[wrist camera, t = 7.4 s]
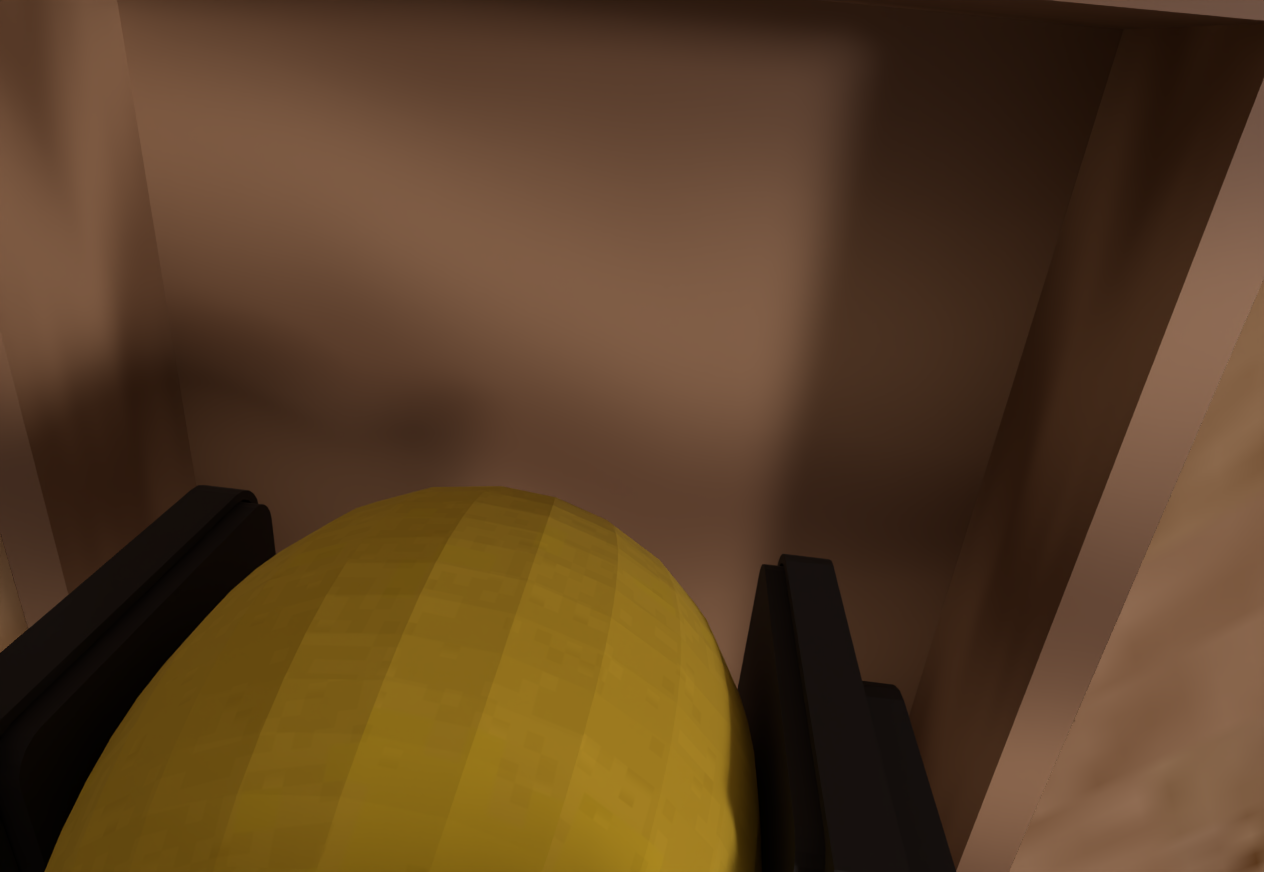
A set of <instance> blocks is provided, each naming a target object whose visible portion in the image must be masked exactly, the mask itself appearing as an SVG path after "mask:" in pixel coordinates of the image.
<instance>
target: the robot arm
mask: <svg viewBox="0 0 1264 872" xmlns="http://www.w3.org/2000/svg"><path fill="white" fill-rule="evenodd" d="M275 555H276V551H275V542H274V534H273V525H272V517H271V513H270V510H269V508H268V507H267V506H266V505H264V504H258V500H257V498H256V496H255V495H254V493H252V492H251V491H249V490H243V489H234V488H226V487H217V486H209V485H198V486H196V487H195V488H193V489H191V490H190V491H189V492H188V493H187V494H185V495H184V496H183V497H182V498H181V499H180V500H178V501H177V502H176V503H175V504H174V505H173V506H171V507H170V508H169V509H168V510H167V511H166V512H164V513H163V514H162V515H161V516H160V517H159V518H157V519H156V520H155V521H154V522H153V523H152V524H150V525H149V526H148V527H147V528H146V529H145V530H143V531H142V532H141V533H140V534H139V535H138V536H136V537H135V538H134V539H133V540H132V541H131V542H129V543H128V544H127V545H126V546H125V547H123V548H122V549H121V550H120V551H119V552H118V553H116V554H115V555H114V556H113V557H112V558H111V559H109V560H108V561H107V562H106V563H105V564H104V565H102V566H101V567H100V568H99V569H98V570H97V571H95V572H94V573H93V574H92V575H91V576H90V577H88V578H87V579H86V580H85V581H84V582H83V583H81V584H80V585H79V586H78V587H77V588H76V589H74V590H73V591H72V592H71V593H70V594H69V595H67V596H66V597H65V598H64V599H63V600H62V601H60V602H59V603H58V604H57V605H56V606H55V607H53V608H52V609H51V610H50V611H49V612H48V613H46V614H45V615H44V616H43V617H42V618H41V619H39V620H38V621H37V622H36V623H35V624H34V625H32V626H31V627H30V628H29V629H28V630H27V631H25V632H24V633H23V634H22V635H21V636H20V637H18V638H17V639H16V640H15V641H14V642H13V643H11V644H10V645H9V646H8V647H7V648H5V649H4V650H3V651H2V652H1V653H0V872H45V869H46V867H47V865H48V862H49V860H50V857H51V855H52V853H53V850H54V848H55V845H56V843H57V841H58V838H59V836H60V833H61V831H62V829H63V827H64V825H65V823H66V821H67V819H68V817H69V815H70V813H71V811H72V809H73V807H74V805H75V803H76V801H77V799H78V797H79V795H80V793H81V791H82V789H83V787H84V785H85V783H86V781H87V779H88V777H89V775H90V774H91V772H92V770H93V768H94V767H95V765H96V763H97V761H98V760H99V758H100V756H101V754H102V753H103V751H104V749H105V747H106V746H107V744H108V742H109V740H110V739H111V737H112V735H113V734H114V732H115V731H116V729H117V728H118V726H119V725H120V723H121V722H122V720H123V719H124V717H125V716H126V714H127V713H128V711H129V710H130V708H131V707H132V705H133V704H134V702H135V701H136V699H137V698H138V697H139V695H140V694H141V693H142V691H143V690H144V689H145V688H146V686H147V685H148V684H149V683H150V681H151V680H152V679H153V677H154V676H155V675H156V674H157V672H158V671H159V670H160V669H161V667H162V666H163V665H164V664H165V662H166V661H167V660H168V659H169V658H170V657H171V656H172V655H173V654H174V652H175V651H176V650H177V649H178V648H179V647H180V646H181V645H182V644H183V642H184V641H185V640H186V639H187V638H188V637H189V636H190V635H191V633H192V632H193V631H194V630H195V629H196V628H197V627H198V626H199V625H200V623H201V622H202V621H203V620H204V619H205V618H206V617H207V616H208V615H209V614H210V613H211V611H212V610H213V609H214V608H215V607H216V606H217V605H218V604H219V603H220V602H221V601H222V600H223V599H224V598H225V597H226V596H227V594H228V593H229V592H230V591H231V590H232V589H234V588H235V587H236V586H237V585H238V584H239V583H240V582H242V581H243V580H244V579H245V578H246V577H247V576H248V575H250V574H251V573H252V572H253V571H254V570H255V569H256V568H258V567H259V566H261V565H262V564H264V563H265V562H266V561H268V560H269V559H271V558H272V557H273V556H275ZM737 690H738V692H739V695H740V698H741V701H742V704H743V707H744V711H745V714H746V717H747V720H748V725H749V730H750V735H751V740H752V745H753V750H754V757H755V767H756V777H757V787H758V800H759V812H760V824H761V849H762V872H956V869H955V865H954V862H953V859H952V856H951V852H950V849H949V846H948V843H947V839H946V836H945V833H944V829H943V826H942V823H941V820H940V816H939V813H938V810H937V807H936V803H935V800H934V797H933V794H932V790H931V787H930V784H929V780H928V777H927V774H926V771H925V767H924V764H923V761H922V758H921V754H920V751H919V748H918V744H917V741H916V738H915V735H914V731H913V728H912V725H911V722H910V718H909V715H908V712H907V709H906V705H905V702H904V699H903V697H902V695H901V692H900V690H899V689H898V688H897V687H896V686H895V685H893V684H885V683H877V682H869V681H862V678H861V674H860V670H859V666H858V662H857V658H856V654H855V650H854V646H853V642H852V638H851V634H850V630H849V626H848V622H847V618H846V614H845V610H844V606H843V602H842V598H841V594H840V590H839V586H838V582H837V578H836V574H835V570H834V566H833V563H832V561H831V560H830V559H824V558H815V557H807V556H798V555H790V554H782V555H781V556H780V558H779V561H778V565H777V566H776V565H767V564H762V566H761V569H760V572H759V577H758V582H757V588H756V593H755V598H754V604H753V609H752V614H751V620H750V625H749V630H748V636H747V641H746V646H745V652H744V657H743V662H742V668H741V673H740V678H739V684H738V689H737Z"/></svg>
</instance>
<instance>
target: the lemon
mask: <svg viewBox="0 0 1264 872" xmlns="http://www.w3.org/2000/svg"><path fill="white" fill-rule="evenodd" d="M45 872H762V849H761V824H760V812H759V800H758V787H757V777H756V767H755V757H754V750H753V745H752V740H751V735H750V730H749V725H748V720H747V717H746V714H745V711H744V707H743V704H742V701H741V698H740V695H739V692H738V690H737V687H736V685H735V683H734V680H733V678H732V676H731V674H730V671H729V669H728V667H727V664H726V662H725V660H724V657H723V655H722V653H721V651H720V648H719V646H718V644H717V641H716V639H715V637H714V635H713V633H712V630H711V628H710V626H709V624H708V622H707V620H706V618H705V617H704V615H703V614H702V612H701V611H700V610H699V608H698V607H697V605H696V604H695V603H694V601H693V600H692V599H691V598H690V597H689V595H688V594H687V593H686V592H685V590H684V589H683V588H682V587H681V586H680V584H679V583H678V582H677V581H676V579H675V578H674V577H673V576H672V575H671V573H670V572H669V571H668V570H667V568H666V567H665V566H664V565H663V563H662V562H661V561H660V560H659V559H658V558H656V557H655V556H654V555H652V554H651V553H650V552H648V551H647V550H646V549H645V548H643V547H642V546H641V545H639V544H638V543H637V542H635V541H634V540H633V539H631V538H630V537H629V536H627V535H626V534H625V533H623V532H622V531H621V530H619V529H618V528H617V527H615V526H614V525H613V524H611V523H610V522H609V521H607V520H606V519H604V518H601V517H599V516H597V515H595V514H592V513H590V512H588V511H586V510H583V509H581V508H579V507H577V506H574V505H572V504H570V503H568V502H565V501H563V500H561V499H559V498H557V497H552V496H547V495H542V494H538V493H533V492H528V491H523V490H518V489H513V488H508V487H503V486H469V487H431V488H427V489H423V490H419V491H415V492H412V493H408V494H404V495H400V496H396V497H393V498H389V499H385V500H381V501H377V502H374V503H371V504H368V505H365V506H361V507H358V508H356V509H354V510H352V511H350V512H348V513H346V514H344V515H342V516H341V517H339V518H337V519H335V520H333V521H332V522H330V523H328V524H326V525H325V526H323V527H321V528H320V529H318V530H316V531H314V532H313V533H311V534H309V535H308V536H306V537H304V538H302V539H301V540H299V541H297V542H296V543H294V544H292V545H290V546H289V547H287V548H285V549H284V550H282V551H280V552H279V553H278V554H276V555H275V556H273V557H272V558H271V559H269V560H268V561H266V562H265V563H264V564H262V565H261V566H259V567H258V568H256V569H255V570H254V571H253V572H252V573H251V574H250V575H248V576H247V577H246V578H245V579H244V580H243V581H242V582H240V583H239V584H238V585H237V586H236V587H235V588H234V589H232V590H231V591H230V592H229V593H228V594H227V596H226V597H225V598H224V599H223V600H222V601H221V602H220V603H219V604H218V605H217V606H216V607H215V608H214V609H213V610H212V611H211V613H210V614H209V615H208V616H207V617H206V618H205V619H204V620H203V621H202V622H201V623H200V625H199V626H198V627H197V628H196V629H195V630H194V631H193V632H192V633H191V635H190V636H189V637H188V638H187V639H186V640H185V641H184V642H183V644H182V645H181V646H180V647H179V648H178V649H177V650H176V651H175V652H174V654H173V655H172V656H171V657H170V658H169V659H168V660H167V661H166V662H165V664H164V665H163V666H162V667H161V669H160V670H159V671H158V672H157V674H156V675H155V676H154V677H153V679H152V680H151V681H150V683H149V684H148V685H147V686H146V688H145V689H144V690H143V691H142V693H141V694H140V695H139V697H138V698H137V699H136V701H135V702H134V704H133V705H132V707H131V708H130V710H129V711H128V713H127V714H126V716H125V717H124V719H123V720H122V722H121V723H120V725H119V726H118V728H117V729H116V731H115V732H114V734H113V735H112V737H111V739H110V740H109V742H108V744H107V746H106V747H105V749H104V751H103V753H102V754H101V756H100V758H99V760H98V761H97V763H96V765H95V767H94V768H93V770H92V772H91V774H90V775H89V777H88V779H87V781H86V783H85V785H84V787H83V789H82V791H81V793H80V795H79V797H78V799H77V801H76V803H75V805H74V807H73V809H72V811H71V813H70V815H69V817H68V819H67V821H66V823H65V825H64V827H63V829H62V831H61V833H60V836H59V838H58V841H57V843H56V845H55V848H54V850H53V853H52V855H51V857H50V860H49V862H48V865H47V867H46V869H45Z"/></svg>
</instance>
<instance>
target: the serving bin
mask: <svg viewBox="0 0 1264 872" xmlns="http://www.w3.org/2000/svg"><path fill="white" fill-rule="evenodd" d="M1263 280H1264V0H0V533H1V537H2V540H3V544H4V547H5V550H6V554H7V557H8V561H9V564H10V568H11V571H12V575H13V578H14V582H15V585H16V588H17V592H18V595H19V599H20V602H21V606H22V609H23V613H24V616H25V619H26V623H27V626H28V629H29V628H30V627H31V626H32V625H34V624H35V623H36V622H37V621H38V620H39V619H41V618H42V617H43V616H44V615H45V614H46V613H48V612H49V611H50V610H51V609H52V608H53V607H55V606H56V605H57V604H58V603H59V602H60V601H62V600H63V599H64V598H65V597H66V596H67V595H69V594H70V593H71V592H72V591H73V590H74V589H76V588H77V587H78V586H79V585H80V584H81V583H83V582H84V581H85V580H86V579H87V578H88V577H90V576H91V575H92V574H93V573H94V572H95V571H97V570H98V569H99V568H100V567H101V566H102V565H104V564H105V563H106V562H107V561H108V560H109V559H111V558H112V557H113V556H114V555H115V554H116V553H118V552H119V551H120V550H121V549H122V548H123V547H125V546H126V545H127V544H128V543H129V542H131V541H132V540H133V539H134V538H135V537H136V536H138V535H139V534H140V533H141V532H142V531H143V530H145V529H146V528H147V527H148V526H149V525H150V524H152V523H153V522H154V521H155V520H156V519H157V518H159V517H160V516H161V515H162V514H163V513H164V512H166V511H167V510H168V509H169V508H170V507H171V506H173V505H174V504H175V503H176V502H177V501H178V500H180V499H181V498H182V497H183V496H184V495H185V494H187V493H188V492H189V491H190V490H191V489H193V488H195V487H196V486H198V485H209V486H217V487H226V488H234V489H243V490H249V491H251V492H252V493H254V495H255V496H256V498H257V500H258V504H264V505H266V506H267V507H268V508H269V510H270V513H271V517H272V525H273V534H274V542H275V551H276V554H278V553H279V552H280V551H282V550H284V549H285V548H287V547H289V546H290V545H292V544H294V543H296V542H297V541H299V540H301V539H302V538H304V537H306V536H308V535H309V534H311V533H313V532H314V531H316V530H318V529H320V528H321V527H323V526H325V525H326V524H328V523H330V522H332V521H333V520H335V519H337V518H339V517H341V516H342V515H344V514H346V513H348V512H350V511H352V510H354V509H356V508H358V507H361V506H365V505H368V504H371V503H374V502H377V501H381V500H385V499H389V498H393V497H396V496H400V495H404V494H408V493H412V492H415V491H419V490H423V489H427V488H431V487H469V486H503V487H508V488H513V489H518V490H523V491H528V492H533V493H538V494H542V495H547V496H552V497H557V498H559V499H561V500H563V501H565V502H568V503H570V504H572V505H574V506H577V507H579V508H581V509H583V510H586V511H588V512H590V513H592V514H595V515H597V516H599V517H601V518H604V519H606V520H607V521H609V522H610V523H611V524H613V525H614V526H615V527H617V528H618V529H619V530H621V531H622V532H623V533H625V534H626V535H627V536H629V537H630V538H631V539H633V540H634V541H635V542H637V543H638V544H639V545H641V546H642V547H643V548H645V549H646V550H647V551H648V552H650V553H651V554H652V555H654V556H655V557H656V558H658V559H659V560H660V561H661V562H662V563H663V565H664V566H665V567H666V568H667V570H668V571H669V572H670V573H671V575H672V576H673V577H674V578H675V579H676V581H677V582H678V583H679V584H680V586H681V587H682V588H683V589H684V590H685V592H686V593H687V594H688V595H689V597H690V598H691V599H692V600H693V601H694V603H695V604H696V605H697V607H698V608H699V610H700V611H701V612H702V614H703V615H704V617H705V618H706V620H707V622H708V624H709V626H710V628H711V630H712V633H713V635H714V637H715V639H716V641H717V644H718V646H719V648H720V651H721V653H722V655H723V657H724V660H725V662H726V664H727V667H728V669H729V671H730V674H731V676H732V678H733V680H734V683H735V685H736V687H737V689H738V684H739V678H740V673H741V668H742V662H743V657H744V652H745V646H746V641H747V636H748V630H749V625H750V620H751V614H752V609H753V604H754V598H755V593H756V588H757V582H758V577H759V572H760V569H761V566H762V564H767V565H776V566H777V565H778V561H779V558H780V556H781V555H782V554H790V555H798V556H807V557H815V558H824V559H830V560H831V561H832V563H833V566H834V570H835V574H836V578H837V582H838V586H839V590H840V594H841V598H842V602H843V606H844V610H845V614H846V618H847V622H848V626H849V630H850V634H851V638H852V642H853V646H854V650H855V654H856V658H857V662H858V666H859V670H860V674H861V678H862V681H869V682H877V683H885V684H893V685H895V686H896V687H897V688H898V689H899V690H900V692H901V695H902V697H903V699H904V702H905V705H906V709H907V712H908V715H909V718H910V722H911V725H912V728H913V731H914V735H915V738H916V741H917V744H918V748H919V751H920V754H921V758H922V761H923V764H924V767H925V771H926V774H927V777H928V780H929V784H930V787H931V790H932V794H933V797H934V800H935V803H936V807H937V810H938V813H939V816H940V820H941V823H942V826H943V829H944V833H945V836H946V839H947V843H948V846H949V849H950V852H951V856H952V859H953V862H954V865H955V869H956V872H1009V871H1010V868H1011V866H1012V864H1013V861H1014V859H1015V857H1016V854H1017V852H1018V850H1019V847H1020V845H1021V843H1022V840H1023V838H1024V836H1025V833H1026V831H1027V829H1028V826H1029V824H1030V822H1031V819H1032V817H1033V815H1034V812H1035V810H1036V808H1037V805H1038V803H1039V801H1040V799H1041V796H1042V794H1043V792H1044V789H1045V787H1046V785H1047V782H1048V780H1049V778H1050V775H1051V773H1052V771H1053V768H1054V766H1055V764H1056V761H1057V759H1058V757H1059V754H1060V752H1061V750H1062V747H1063V745H1064V743H1065V740H1066V738H1067V736H1068V733H1069V731H1070V729H1071V726H1072V724H1073V722H1074V719H1075V717H1076V715H1077V712H1078V710H1079V708H1080V705H1081V703H1082V701H1083V698H1084V696H1085V694H1086V691H1087V689H1088V687H1089V685H1090V682H1091V680H1092V678H1093V675H1094V673H1095V671H1096V668H1097V666H1098V664H1099V661H1100V659H1101V657H1102V654H1103V652H1104V650H1105V647H1106V645H1107V643H1108V640H1109V638H1110V636H1111V633H1112V631H1113V629H1114V626H1115V624H1116V622H1117V619H1118V617H1119V615H1120V612H1121V610H1122V608H1123V605H1124V603H1125V601H1126V598H1127V596H1128V594H1129V591H1130V589H1131V587H1132V584H1133V582H1134V580H1135V577H1136V575H1137V573H1138V570H1139V568H1140V566H1141V564H1142V561H1143V559H1144V557H1145V554H1146V552H1147V550H1148V547H1149V545H1150V543H1151V540H1152V538H1153V536H1154V533H1155V531H1156V529H1157V526H1158V524H1159V522H1160V519H1161V517H1162V515H1163V512H1164V510H1165V508H1166V505H1167V503H1168V501H1169V498H1170V496H1171V494H1172V491H1173V489H1174V487H1175V484H1176V482H1177V480H1178V477H1179V475H1180V473H1181V470H1182V468H1183V466H1184V463H1185V461H1186V459H1187V456H1188V454H1189V452H1190V450H1191V447H1192V445H1193V443H1194V440H1195V438H1196V436H1197V433H1198V431H1199V429H1200V426H1201V424H1202V422H1203V419H1204V417H1205V415H1206V412H1207V410H1208V408H1209V405H1210V403H1211V401H1212V398H1213V396H1214V394H1215V391H1216V389H1217V387H1218V384H1219V382H1220V380H1221V377H1222V375H1223V373H1224V370H1225V368H1226V366H1227V363H1228V361H1229V359H1230V356H1231V354H1232V352H1233V349H1234V347H1235V345H1236V342H1237V340H1238V338H1239V335H1240V333H1241V331H1242V329H1243V326H1244V324H1245V322H1246V319H1247V317H1248V315H1249V312H1250V310H1251V308H1252V305H1253V303H1254V301H1255V298H1256V296H1257V294H1258V291H1259V289H1260V287H1261V284H1262V282H1263Z"/></svg>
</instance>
